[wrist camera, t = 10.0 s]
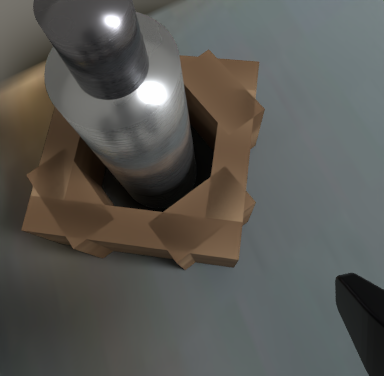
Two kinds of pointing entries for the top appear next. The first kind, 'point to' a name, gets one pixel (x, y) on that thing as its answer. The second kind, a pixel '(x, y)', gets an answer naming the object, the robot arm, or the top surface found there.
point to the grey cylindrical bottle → (122, 93)
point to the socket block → (184, 208)
